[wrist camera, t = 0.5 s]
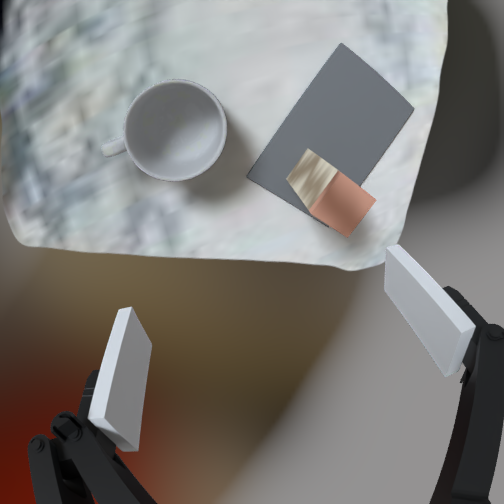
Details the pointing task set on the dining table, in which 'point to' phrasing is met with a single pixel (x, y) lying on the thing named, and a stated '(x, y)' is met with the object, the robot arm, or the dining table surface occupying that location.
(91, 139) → the dining table surface
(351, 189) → the block
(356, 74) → the mat
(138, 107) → the teacup
